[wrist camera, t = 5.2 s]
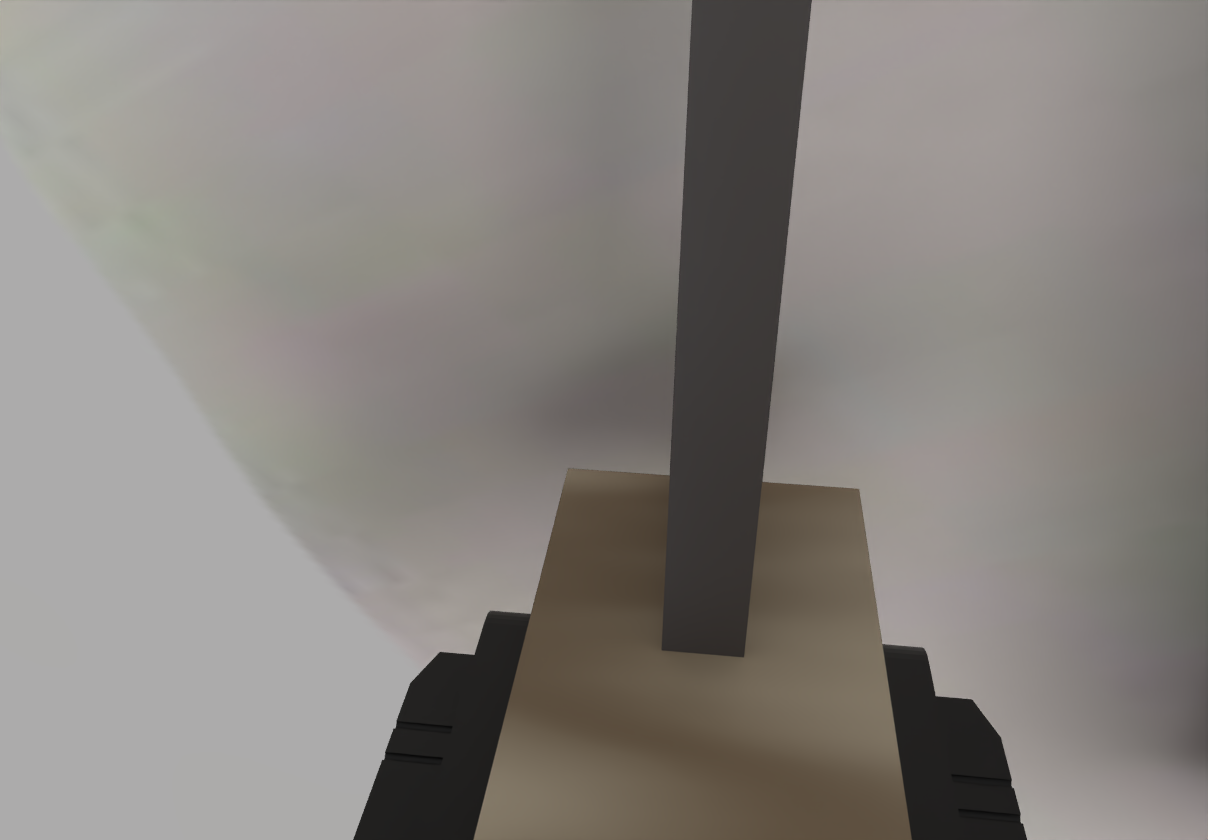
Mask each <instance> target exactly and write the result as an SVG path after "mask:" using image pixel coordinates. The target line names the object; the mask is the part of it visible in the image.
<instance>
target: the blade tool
mask: <svg viewBox="0 0 1208 840" xmlns="http://www.w3.org/2000/svg"><path fill="white" fill-rule="evenodd" d="M811 2H812V0H692V20H691V41H690V62H689V83H688V104H687V125H686V146H685V167H684V188H683V209H682V230H681V251H680V272H679V293H678V314H677V335H676V356H675V377H674V398H673V419H672V440H671V461H670V476H669V475H655V474H640V473H626V472H612V471H598V470H584V469H570V468H568V471H567V475H566V478H565V482H564V486H563V490H562V494H561V498H560V502H559V506H558V510H557V514H556V518H555V522H554V526H553V530H552V533H551V537H550V541H549V545H548V549H547V553H546V557H545V561H544V565H543V569H542V573H541V577H540V581H539V585H538V588H537V592H536V596H535V600H534V604H533V608H532V612H531V616H530V620H529V624H528V628H527V632H526V636H525V640H524V643H523V647H522V651H521V655H520V659H519V663H518V667H517V671H516V675H515V679H514V683H513V687H512V691H511V694H510V698H509V702H508V706H507V710H506V714H505V718H504V722H503V726H502V730H501V734H500V738H499V742H498V746H497V749H496V753H495V757H494V761H493V765H492V769H491V773H490V777H489V781H488V785H487V789H486V793H485V797H484V801H483V804H482V808H481V812H480V816H479V820H478V824H477V828H476V832H475V836H474V840H912V838H911V831H910V825H909V818H908V811H907V805H906V798H905V791H904V785H903V778H902V772H901V765H900V758H899V752H898V745H897V738H896V732H895V725H894V718H893V712H892V705H891V698H890V692H889V685H888V679H887V672H886V665H885V659H884V652H883V645H882V639H881V632H880V625H879V619H878V612H877V605H876V599H875V592H874V585H873V579H872V572H871V566H870V559H869V552H868V546H867V539H866V532H865V526H864V519H863V512H862V506H861V499H860V492H859V489H852V488H838V487H824V486H810V485H796V484H782V483H767V482H762V478H763V469H764V459H765V449H766V439H767V430H768V420H769V410H770V401H771V391H772V381H773V371H774V362H775V352H776V342H777V333H778V323H779V313H780V303H781V294H782V284H783V274H784V265H785V255H786V245H787V235H788V226H789V216H790V206H791V196H792V187H793V177H794V167H795V158H796V148H797V138H798V128H799V119H800V109H801V99H802V90H803V80H804V70H805V60H806V51H807V41H808V31H809V22H810V12H811Z"/></svg>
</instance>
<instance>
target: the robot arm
mask: <svg viewBox="0 0 1208 840" xmlns="http://www.w3.org/2000/svg"><path fill="white" fill-rule="evenodd" d="M530 616H531V614H524V613H512V612H500V611H490V612H489V613H488V615H487V617H486V619H485V622H484V625H483V629H482V632H481V635H480V639H479V642H478V645H477V648H476V652H475V655H469V654H457V653H446V652H440V653H439V654H438V655H437V656H436V657H435V658H434V659H433V660H432V661H431V662H430V663H429V664H428V665H427V666H426V667H425V668H424V669H423V670H422V672H421V673H420V674H419V675H418V676H417V677H416V678H415V679H414V680H413V681H412V682H411V683H410V686H409V688H408V691H407V694H406V697H405V699H404V702H403V705H402V707H401V710H400V713H399V716H398V719H397V724H396V729H393V732H392V735H391V738H390V741H389V743H388V746H387V749H386V752H385V759H384V760H382V762H381V765H380V768H379V771H378V773H377V776H376V779H375V781H374V784H373V787H372V790H371V792H370V796H369V798H368V801H367V803H366V806H365V809H364V812H363V814H362V817H361V820H360V823H359V825H358V828H357V831H356V834H355V836H354V839H353V840H474V836H475V832H476V828H477V824H478V820H479V816H480V812H481V808H482V804H483V801H484V797H485V793H486V789H487V785H488V781H489V777H490V773H491V769H492V765H493V761H494V757H495V753H496V749H497V746H498V742H499V738H500V734H501V730H502V726H503V722H504V718H505V714H506V710H507V706H508V702H509V698H510V694H511V691H512V687H513V683H514V679H515V675H516V671H517V667H518V663H519V659H520V655H521V651H522V647H523V643H524V640H525V636H526V632H527V628H528V624H529V620H530ZM882 645H883V652H884V659H885V665H886V672H887V679H888V685H889V692H890V698H891V705H892V712H893V718H894V725H895V732H896V738H897V745H898V752H899V758H900V765H901V772H902V778H903V785H904V791H905V798H906V805H907V811H908V818H909V825H910V831H911V838H912V840H1027V837H1026V834H1025V830H1024V826H1023V824H1022V823H1021V822H1020V815H1021V814H1020V810H1019V806H1018V802H1017V799H1016V795H1015V791H1014V788H1012V787H1011V781H1012V779H1011V775H1010V771H1009V767H1008V764H1007V760H1006V756H1005V752H1004V748H1003V744H1002V740H1001V737H1000V736H999V735H998V733H997V732H996V731H995V729H994V728H993V727H992V725H991V724H990V723H989V721H988V720H987V719H986V717H985V716H984V715H983V713H982V712H981V711H980V709H979V708H978V707H977V705H976V704H975V703H974V701H973V700H972V699H961V698H949V697H938V696H935V691H934V686H933V681H932V676H931V671H930V666H929V661H928V656H927V653H926V651H925V649H924V648H921V647H909V646H897V645H885V644H882Z"/></svg>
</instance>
